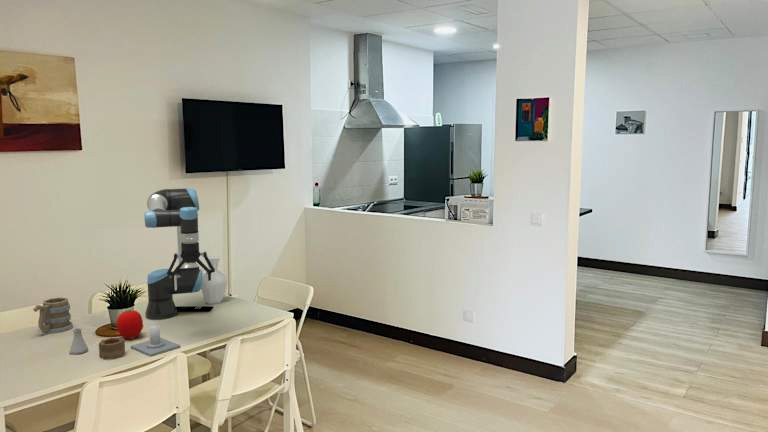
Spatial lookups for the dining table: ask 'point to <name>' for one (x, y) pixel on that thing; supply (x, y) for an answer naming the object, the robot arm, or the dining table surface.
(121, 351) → the collar
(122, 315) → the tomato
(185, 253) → the robot arm
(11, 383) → the dining table surface
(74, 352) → the flask
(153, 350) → the post fixture
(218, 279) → the vase
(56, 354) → the dining table surface
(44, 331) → the tankard
